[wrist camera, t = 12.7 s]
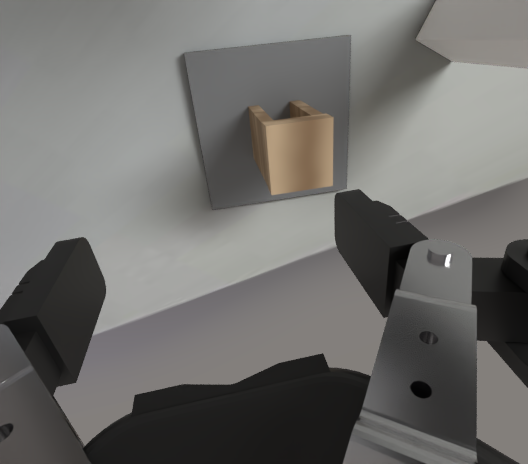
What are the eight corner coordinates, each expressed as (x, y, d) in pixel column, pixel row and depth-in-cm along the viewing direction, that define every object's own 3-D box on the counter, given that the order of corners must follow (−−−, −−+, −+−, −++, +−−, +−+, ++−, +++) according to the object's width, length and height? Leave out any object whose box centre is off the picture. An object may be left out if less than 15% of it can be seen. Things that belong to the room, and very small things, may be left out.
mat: (184, 52, 37) (183, 52, 36) (348, 35, 39) (351, 34, 38) (212, 207, 46) (212, 209, 45) (344, 186, 47) (346, 188, 47)
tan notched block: (253, 159, 43) (271, 195, 33) (247, 104, 39) (265, 126, 30) (301, 152, 43) (332, 185, 33) (299, 98, 40) (333, 117, 30)
